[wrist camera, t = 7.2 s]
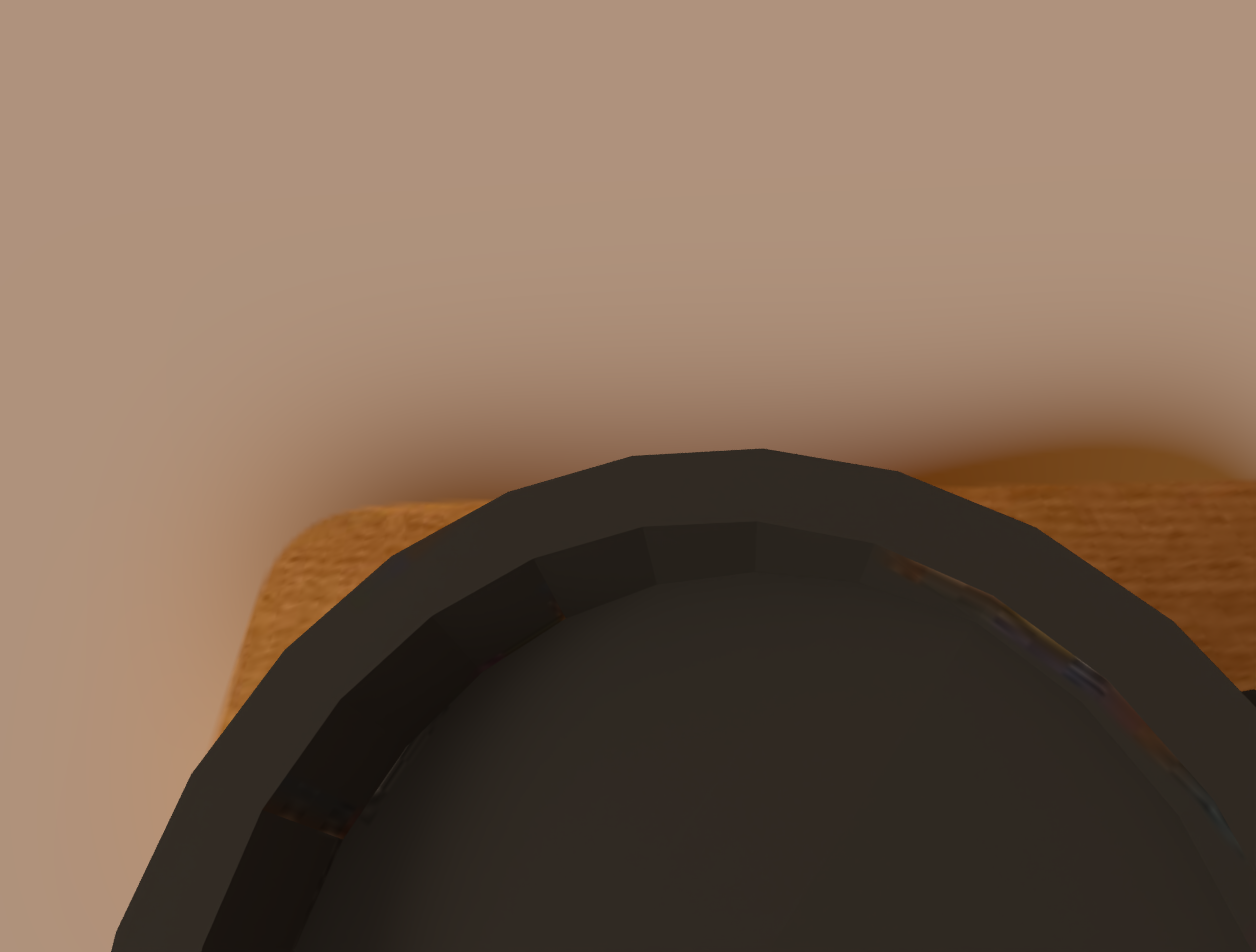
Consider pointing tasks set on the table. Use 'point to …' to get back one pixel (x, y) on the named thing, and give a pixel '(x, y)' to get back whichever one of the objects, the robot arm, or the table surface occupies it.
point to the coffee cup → (723, 739)
